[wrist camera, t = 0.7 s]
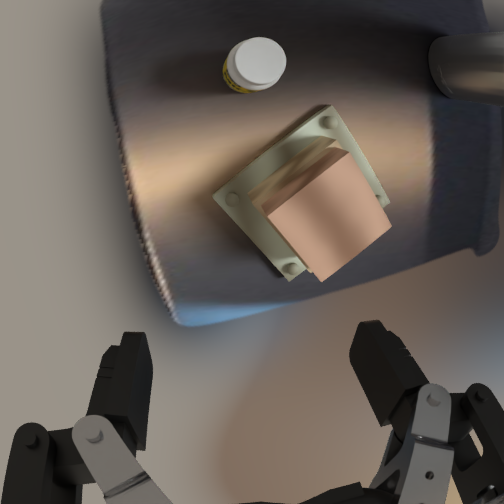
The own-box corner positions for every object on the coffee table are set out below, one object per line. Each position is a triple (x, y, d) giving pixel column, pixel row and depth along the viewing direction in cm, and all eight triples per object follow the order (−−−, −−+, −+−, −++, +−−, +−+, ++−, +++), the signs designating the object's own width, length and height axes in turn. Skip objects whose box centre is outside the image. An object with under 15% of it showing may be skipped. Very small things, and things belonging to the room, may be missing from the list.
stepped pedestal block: (327, 104, 29) (364, 106, 22) (385, 199, 36) (423, 223, 28) (212, 194, 32) (215, 221, 25) (286, 276, 38) (305, 316, 31)
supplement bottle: (213, 79, 27) (216, 68, 19) (237, 43, 25) (250, 21, 18) (253, 102, 28) (271, 99, 21) (277, 66, 27) (302, 53, 20)
